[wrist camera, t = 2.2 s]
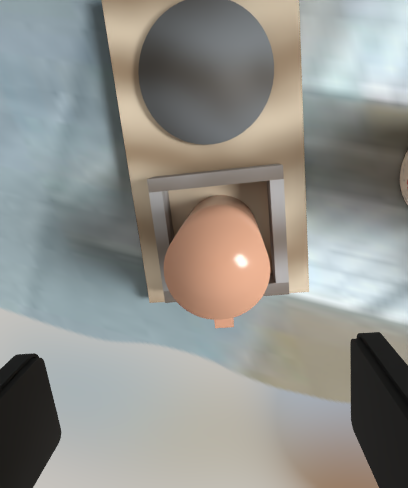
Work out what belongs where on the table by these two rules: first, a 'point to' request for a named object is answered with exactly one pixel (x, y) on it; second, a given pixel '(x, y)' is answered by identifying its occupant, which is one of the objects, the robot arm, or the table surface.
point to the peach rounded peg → (218, 261)
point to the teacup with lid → (404, 178)
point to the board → (212, 122)
